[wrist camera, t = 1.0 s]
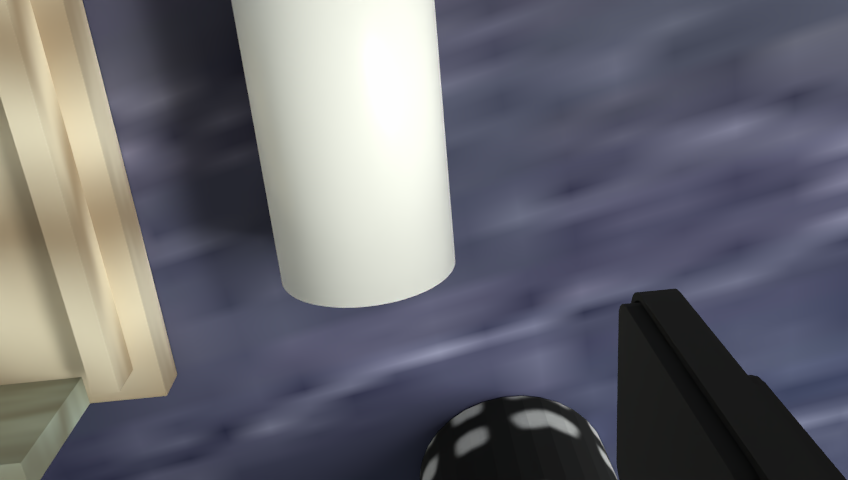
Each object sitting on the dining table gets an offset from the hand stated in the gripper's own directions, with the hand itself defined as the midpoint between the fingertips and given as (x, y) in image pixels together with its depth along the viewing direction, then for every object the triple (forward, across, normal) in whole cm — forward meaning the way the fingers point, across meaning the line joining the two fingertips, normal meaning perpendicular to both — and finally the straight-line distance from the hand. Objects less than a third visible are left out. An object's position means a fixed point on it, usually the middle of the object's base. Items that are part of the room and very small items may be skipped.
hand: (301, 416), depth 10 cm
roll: (+18, 0, -2) cm, 18 cm away
